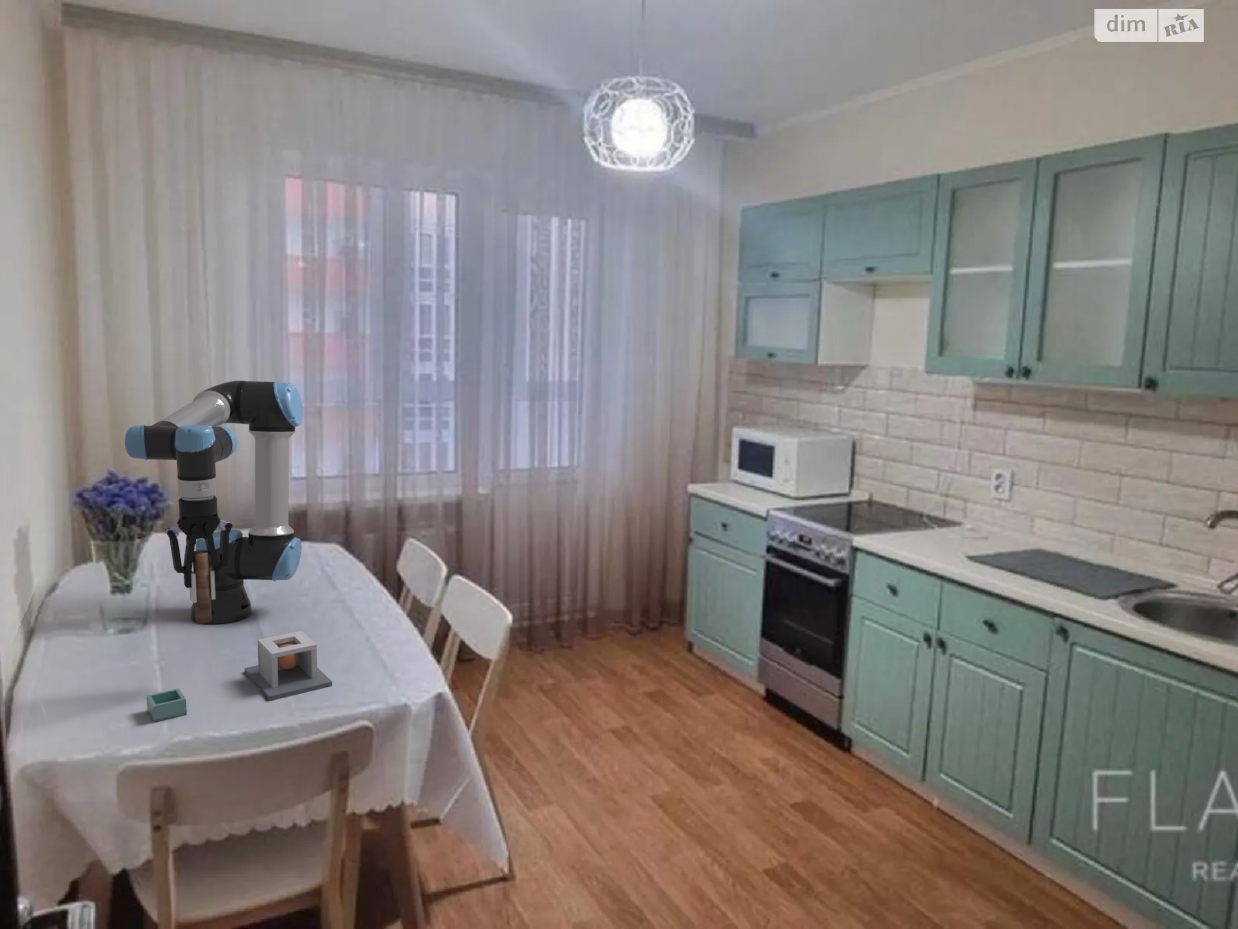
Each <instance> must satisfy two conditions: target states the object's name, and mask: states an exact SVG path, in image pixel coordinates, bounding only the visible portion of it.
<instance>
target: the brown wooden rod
mask: <svg viewBox="0 0 1238 929" xmlns="http://www.w3.org/2000/svg"><path fill="white" fill-rule="evenodd" d="M192 571H193V572H194V573H195V575H196V595H197V602H196V603H195V613H196V622H195V623H196V624H204V623H208V622H210V621H212V614H211V592H210V571H209V551H207V550H197V551H196V550H194V557H193V565H192Z"/></svg>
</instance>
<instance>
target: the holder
mask: <svg viewBox="0 0 1238 929" xmlns="http://www.w3.org/2000/svg"><path fill="white" fill-rule="evenodd" d="M146 711H147V713H148V714H149V717H150V718H151V720H152V722H153V723H158V722H161V721H165V720H170V719H176V718H178V717H183V716H187V715H188V714H187V698H186V697H185V695H184V694H183V692H182V690H181V689H180V688H179V687H178V688H174V689H169V690H165V691H161V692H156V693H150V694H146Z"/></svg>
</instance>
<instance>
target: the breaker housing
mask: <svg viewBox="0 0 1238 929" xmlns="http://www.w3.org/2000/svg"><path fill="white" fill-rule="evenodd" d="M286 644H293V645H291V646H287V647H282V648H279V647H280V646H282V645H286ZM317 650H318V648H317V643H315V642H314V641H313V640H312V639H311V638H310V637H309V636H308V635H307V634H305V633H304V632H303V631H302V630H299V631H294V632H289V633H284V634H278V635H275V636H269V637H268V636H267V637H265V638H257V658H258V659H257V660H258V662H257V663H258V664H256V665H253V666H248V667H244V673H245V674H246V676H247V677H248V678H249V680H251V681H252V683H253V684H254V685H255V686H256V688H257V689H259V691H260V692H261V693H262V694H263V695H264V697H265V698H266V699H267V700H268V701H270V702H271V701H275V700H278V699H283V698H287V697H291V696H295V695H299V694H305V693H307V692H311V691H312V692H313V691H315V690H320V689H324V688H327V687H329V688H330V687H332V686H333V680H331V678H329V677H328V676H327V675H326V674H325V673H324V672H323V671H322V670H321V669H320V668H318V656H317V655H318V653H317ZM294 653H296V666H295V667H294V668H291V669H281V668H279V657H280V656H285V655H290V654H294Z"/></svg>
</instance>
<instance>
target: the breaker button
mask: <svg viewBox="0 0 1238 929" xmlns="http://www.w3.org/2000/svg"><path fill="white" fill-rule="evenodd" d="M291 645H293V644H286V645H282V646H280V647H279V648H282V647H287V646H291ZM295 666H296V653H294V654H290V655H285V656H280V657H279V668H281V669H291V668H294V667H295Z"/></svg>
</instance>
